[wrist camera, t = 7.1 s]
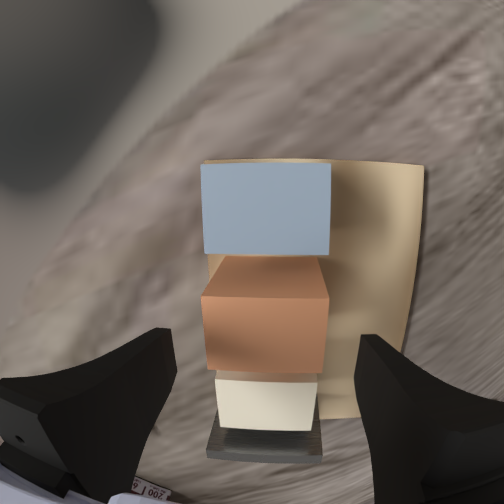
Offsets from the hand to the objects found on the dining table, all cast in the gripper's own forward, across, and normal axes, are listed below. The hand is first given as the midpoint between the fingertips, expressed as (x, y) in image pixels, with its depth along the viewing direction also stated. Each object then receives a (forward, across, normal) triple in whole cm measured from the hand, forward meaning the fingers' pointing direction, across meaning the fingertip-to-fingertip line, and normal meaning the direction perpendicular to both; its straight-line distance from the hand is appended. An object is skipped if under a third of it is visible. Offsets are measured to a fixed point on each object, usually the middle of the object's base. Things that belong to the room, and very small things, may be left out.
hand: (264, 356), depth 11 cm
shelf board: (+7, -2, +2) cm, 8 cm away
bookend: (+7, 0, +9) cm, 11 cm away
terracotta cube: (+7, 0, 0) cm, 7 cm away
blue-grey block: (+7, 0, -5) cm, 9 cm away
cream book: (+7, 0, +5) cm, 8 cm away
